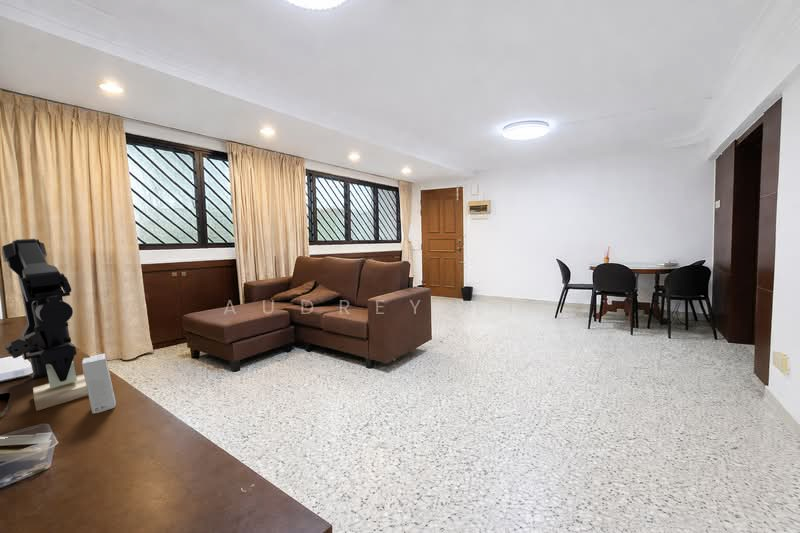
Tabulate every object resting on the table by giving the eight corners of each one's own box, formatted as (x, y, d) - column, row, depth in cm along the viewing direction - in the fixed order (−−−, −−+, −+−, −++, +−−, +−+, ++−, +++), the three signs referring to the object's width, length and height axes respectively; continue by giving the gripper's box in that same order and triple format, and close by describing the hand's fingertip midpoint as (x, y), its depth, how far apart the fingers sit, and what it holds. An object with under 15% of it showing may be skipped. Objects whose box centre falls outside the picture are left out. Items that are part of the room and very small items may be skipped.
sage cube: (49, 383, 93) (45, 364, 92) (75, 376, 96) (71, 358, 96) (50, 388, 89) (46, 369, 89) (77, 380, 93) (73, 362, 92)
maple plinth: (35, 396, 93) (33, 387, 93) (90, 381, 101) (88, 372, 101) (36, 410, 85) (34, 401, 85) (96, 392, 93) (94, 383, 93)
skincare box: (116, 407, 84) (107, 358, 82) (90, 415, 81) (81, 364, 79) (115, 398, 88) (107, 352, 87) (91, 405, 86) (82, 357, 84)
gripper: (5, 322, 91) (17, 380, 93) (2, 334, 78) (16, 401, 80) (64, 312, 99) (74, 366, 101) (70, 322, 86) (82, 383, 88)
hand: (62, 378), depth 93 cm, fingers closed on sage cube, 5 cm apart
